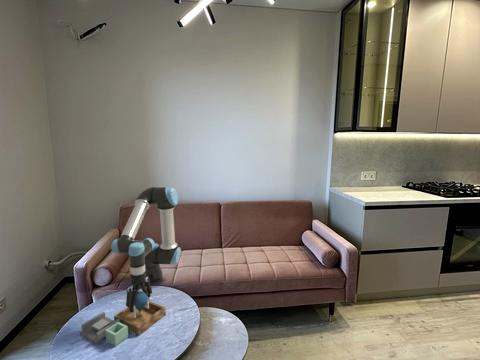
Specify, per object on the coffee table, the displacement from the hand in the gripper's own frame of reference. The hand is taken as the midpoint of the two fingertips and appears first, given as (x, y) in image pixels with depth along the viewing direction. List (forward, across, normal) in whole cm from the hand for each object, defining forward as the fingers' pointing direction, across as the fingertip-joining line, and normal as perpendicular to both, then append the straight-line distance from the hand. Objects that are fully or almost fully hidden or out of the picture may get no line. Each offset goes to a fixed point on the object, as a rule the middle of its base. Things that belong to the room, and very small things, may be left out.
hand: (140, 312), depth 147 cm
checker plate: (+1, +16, -10) cm, 19 cm away
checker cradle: (+4, +16, -10) cm, 19 cm away
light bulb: (+1, 0, 0) cm, 1 cm away
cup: (+4, +16, +2) cm, 17 cm away
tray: (+4, 0, 0) cm, 4 cm away
